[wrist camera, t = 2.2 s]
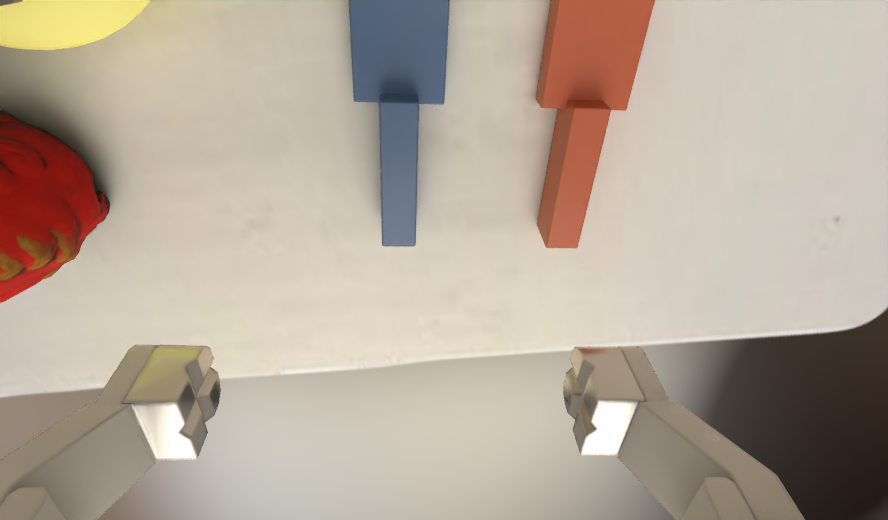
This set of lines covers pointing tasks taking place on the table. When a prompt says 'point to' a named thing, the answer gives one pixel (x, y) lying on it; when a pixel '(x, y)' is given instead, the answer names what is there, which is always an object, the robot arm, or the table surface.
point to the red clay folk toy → (41, 205)
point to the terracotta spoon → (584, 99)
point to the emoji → (63, 21)
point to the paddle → (399, 92)
